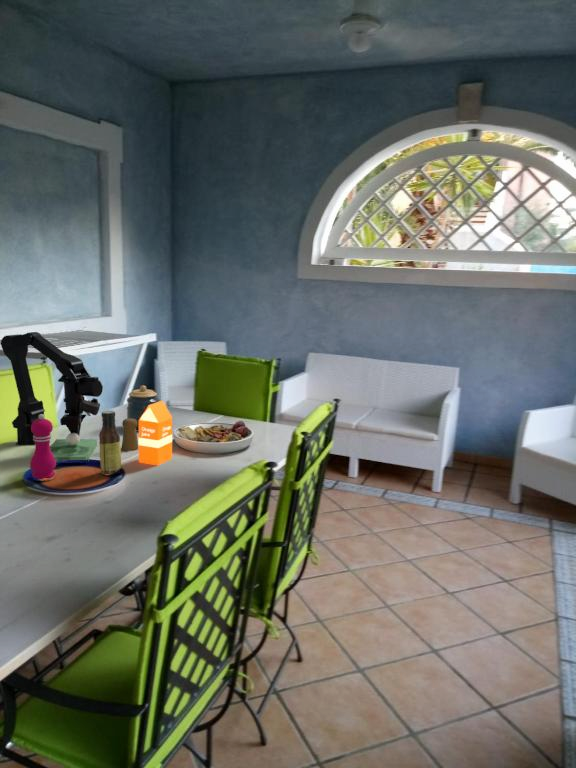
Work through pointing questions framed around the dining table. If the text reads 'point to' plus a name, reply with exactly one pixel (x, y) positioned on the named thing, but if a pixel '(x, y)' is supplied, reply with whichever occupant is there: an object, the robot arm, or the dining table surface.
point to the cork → (129, 435)
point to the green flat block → (73, 449)
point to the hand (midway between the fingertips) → (76, 437)
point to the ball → (73, 439)
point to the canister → (140, 402)
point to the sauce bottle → (109, 444)
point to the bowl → (213, 437)
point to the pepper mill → (42, 449)
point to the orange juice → (155, 435)
